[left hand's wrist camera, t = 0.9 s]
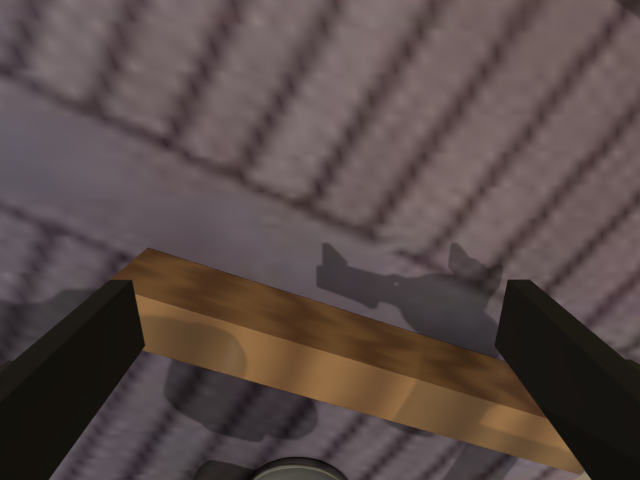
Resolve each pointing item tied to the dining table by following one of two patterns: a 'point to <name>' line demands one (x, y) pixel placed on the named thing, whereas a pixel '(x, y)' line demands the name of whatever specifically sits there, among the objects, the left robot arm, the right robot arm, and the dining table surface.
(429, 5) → the dining table surface
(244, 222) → the dining table surface
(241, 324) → the post
